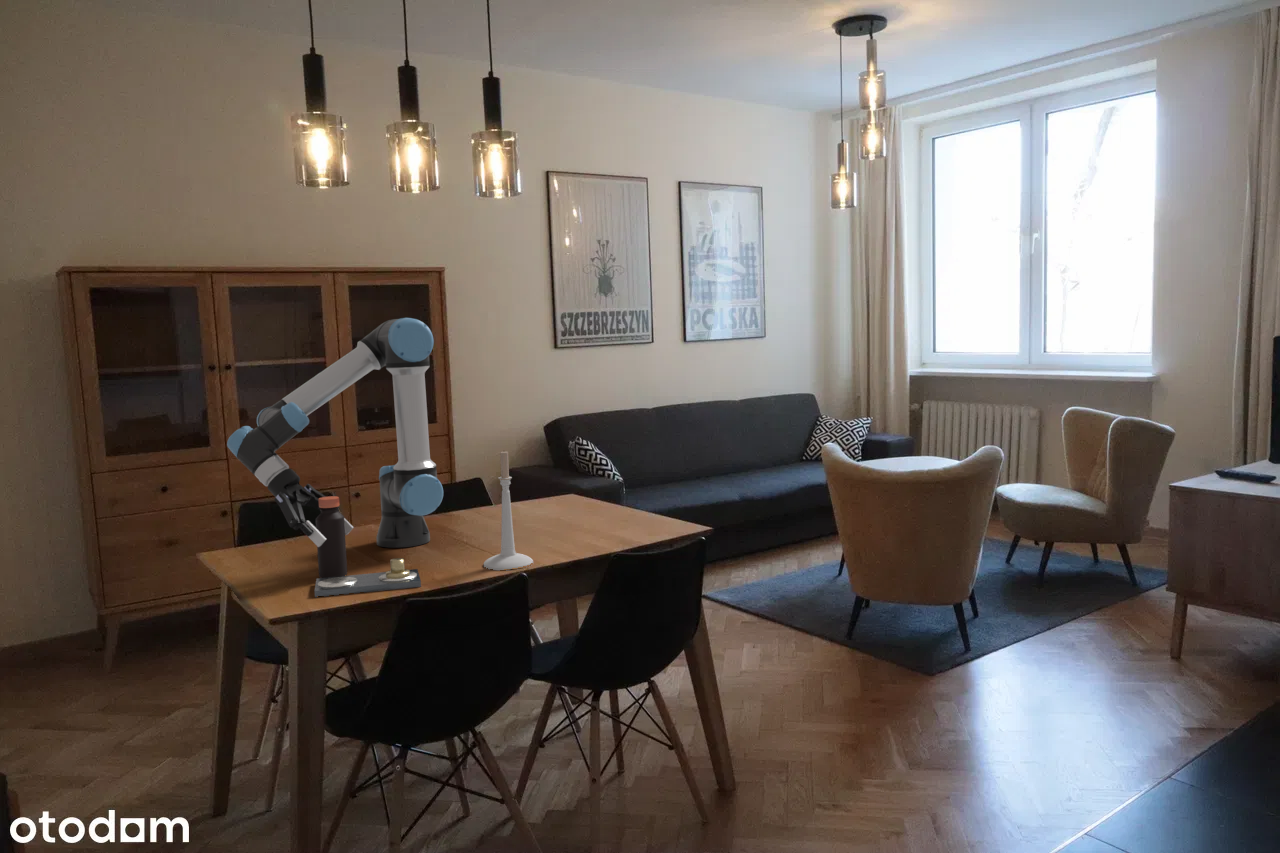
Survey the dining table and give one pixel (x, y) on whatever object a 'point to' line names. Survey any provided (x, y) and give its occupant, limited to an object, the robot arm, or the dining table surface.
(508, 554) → the candlestick
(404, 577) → the plate
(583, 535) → the dining table surface
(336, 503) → the vinegar
